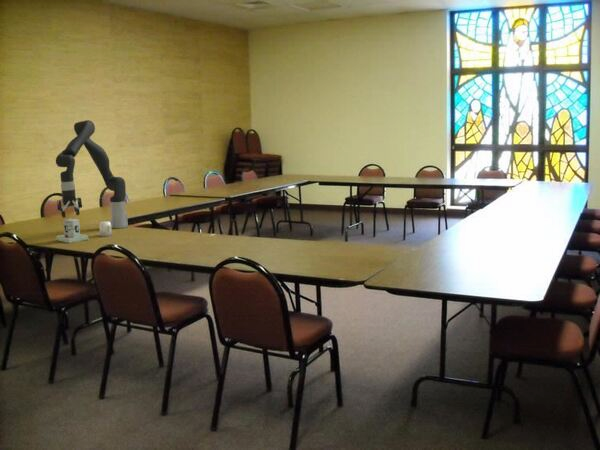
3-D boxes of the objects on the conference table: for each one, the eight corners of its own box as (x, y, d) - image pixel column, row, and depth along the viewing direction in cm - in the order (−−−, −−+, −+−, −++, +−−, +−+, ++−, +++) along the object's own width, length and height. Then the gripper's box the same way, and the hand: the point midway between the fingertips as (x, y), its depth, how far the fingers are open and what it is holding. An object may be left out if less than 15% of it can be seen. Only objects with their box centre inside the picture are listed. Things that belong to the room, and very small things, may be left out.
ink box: (64, 239, 386) (62, 219, 385) (71, 237, 391) (69, 218, 389) (74, 240, 382) (72, 220, 380) (80, 238, 386) (79, 219, 384)
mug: (108, 233, 405) (107, 221, 403) (116, 235, 398) (115, 222, 397) (97, 235, 400) (96, 222, 398) (105, 237, 393) (104, 224, 392)
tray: (75, 237, 396) (74, 233, 395) (88, 240, 385) (87, 235, 385) (56, 240, 387) (56, 235, 387) (69, 243, 377) (69, 238, 376)
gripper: (76, 187, 389) (78, 214, 391) (53, 190, 378) (56, 217, 381) (82, 188, 383) (85, 215, 386) (59, 190, 373) (62, 218, 376)
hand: (70, 216), depth 384 cm, fingers open, 8 cm apart
